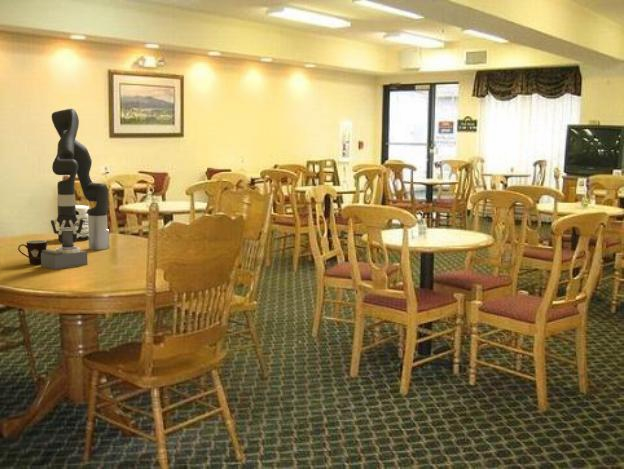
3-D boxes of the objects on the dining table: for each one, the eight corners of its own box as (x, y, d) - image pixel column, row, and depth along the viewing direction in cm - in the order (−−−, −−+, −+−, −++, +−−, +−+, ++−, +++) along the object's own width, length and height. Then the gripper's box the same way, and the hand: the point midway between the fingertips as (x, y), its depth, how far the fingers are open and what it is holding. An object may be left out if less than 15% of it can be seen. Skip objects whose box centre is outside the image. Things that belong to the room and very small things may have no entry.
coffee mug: (51, 262, 322) (51, 240, 320) (38, 266, 313) (37, 243, 312) (30, 260, 325) (30, 239, 324) (17, 264, 317) (16, 241, 316)
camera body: (73, 261, 325) (72, 245, 324) (87, 264, 319) (87, 248, 317) (41, 266, 313) (40, 249, 312) (55, 269, 306) (54, 252, 305)
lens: (61, 248, 318) (60, 228, 316) (73, 247, 319) (73, 227, 318) (62, 249, 313) (61, 229, 311) (74, 249, 315) (73, 229, 313)
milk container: (85, 242, 381) (84, 208, 379) (53, 241, 381) (52, 208, 379) (95, 237, 398) (95, 205, 396) (65, 236, 399) (64, 204, 396)
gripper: (82, 203, 319) (83, 240, 322) (48, 204, 314) (50, 242, 317) (84, 205, 313) (85, 243, 315) (49, 205, 307) (50, 244, 310)
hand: (67, 242), depth 316 cm, fingers closed on lens, 5 cm apart
